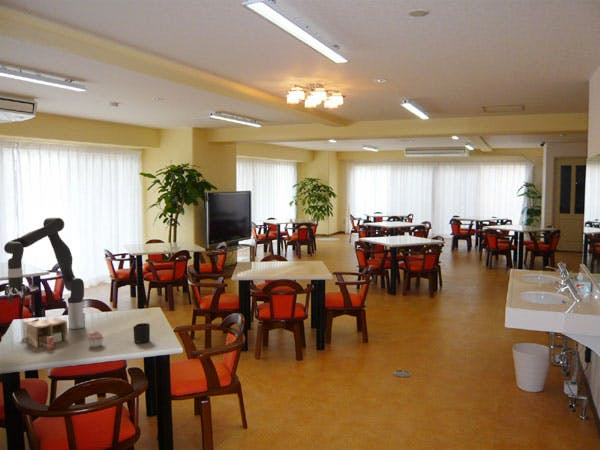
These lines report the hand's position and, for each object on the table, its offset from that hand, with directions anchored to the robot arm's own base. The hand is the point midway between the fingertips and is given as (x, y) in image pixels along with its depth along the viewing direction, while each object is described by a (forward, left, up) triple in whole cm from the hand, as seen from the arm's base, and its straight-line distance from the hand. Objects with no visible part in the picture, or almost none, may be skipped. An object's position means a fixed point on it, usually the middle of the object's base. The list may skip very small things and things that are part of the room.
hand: (16, 303), depth 309 cm
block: (-18, +8, -25) cm, 32 cm away
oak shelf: (-14, +6, -25) cm, 29 cm away
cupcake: (-30, +36, -25) cm, 53 cm away
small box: (-11, -13, -25) cm, 31 cm away
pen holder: (-53, +48, -25) cm, 76 cm away
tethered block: (-10, +15, -25) cm, 31 cm away
